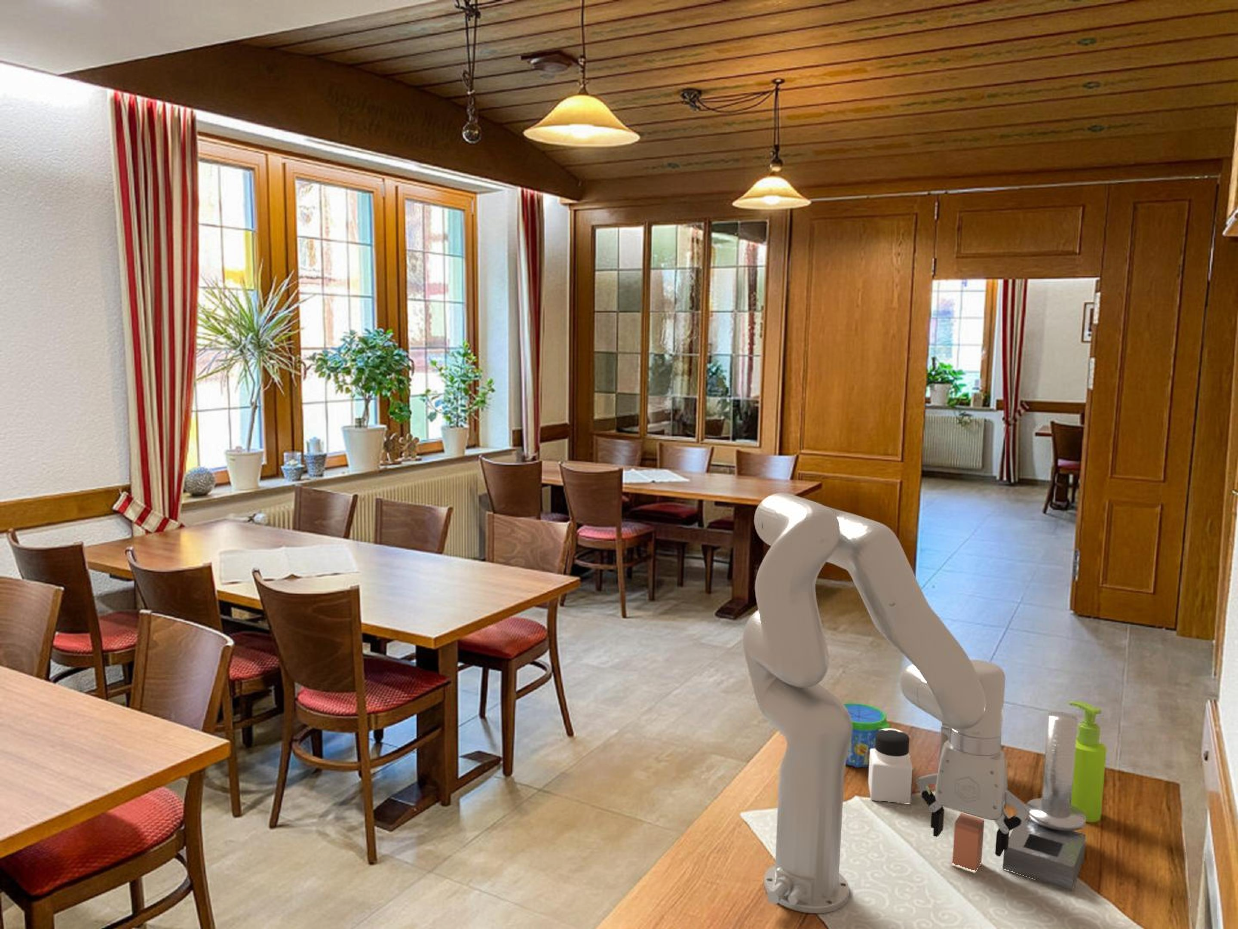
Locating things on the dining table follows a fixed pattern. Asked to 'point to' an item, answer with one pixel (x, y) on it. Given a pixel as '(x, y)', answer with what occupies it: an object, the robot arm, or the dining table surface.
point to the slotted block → (1052, 816)
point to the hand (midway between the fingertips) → (968, 842)
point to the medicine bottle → (890, 767)
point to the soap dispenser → (1088, 765)
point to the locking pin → (968, 841)
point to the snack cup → (864, 732)
